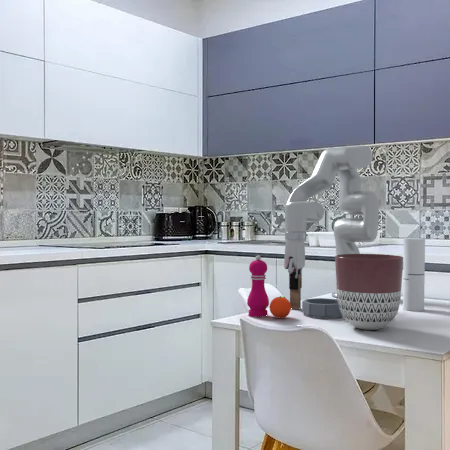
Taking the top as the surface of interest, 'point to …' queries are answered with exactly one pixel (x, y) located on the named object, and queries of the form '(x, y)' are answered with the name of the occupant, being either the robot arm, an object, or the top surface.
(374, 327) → the planter
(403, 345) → the top surface
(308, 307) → the grey faceted bowl
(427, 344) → the top surface
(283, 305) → the clementine
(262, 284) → the pepper mill
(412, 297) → the cylindrical container
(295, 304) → the brown wooden block
